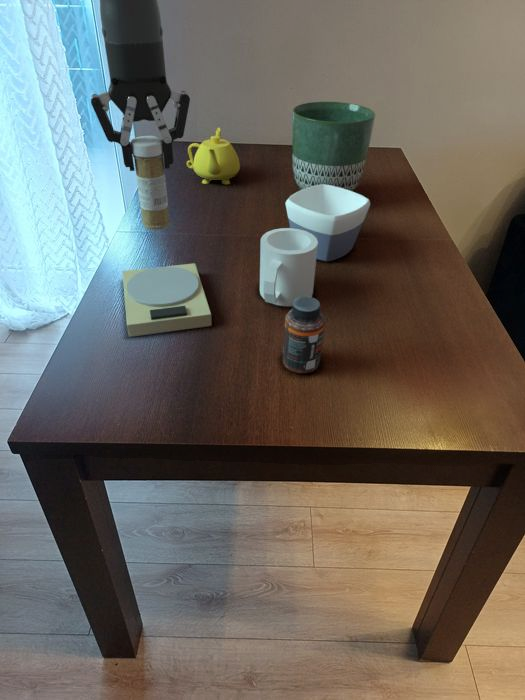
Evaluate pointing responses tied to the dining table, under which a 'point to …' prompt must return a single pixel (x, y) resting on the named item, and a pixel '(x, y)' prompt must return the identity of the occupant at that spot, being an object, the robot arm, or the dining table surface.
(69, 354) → the dining table surface
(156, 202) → the sprinkles bottle
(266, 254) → the mug
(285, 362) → the supplement bottle
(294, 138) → the planter
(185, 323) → the scale
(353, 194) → the bowl
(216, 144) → the teapot
